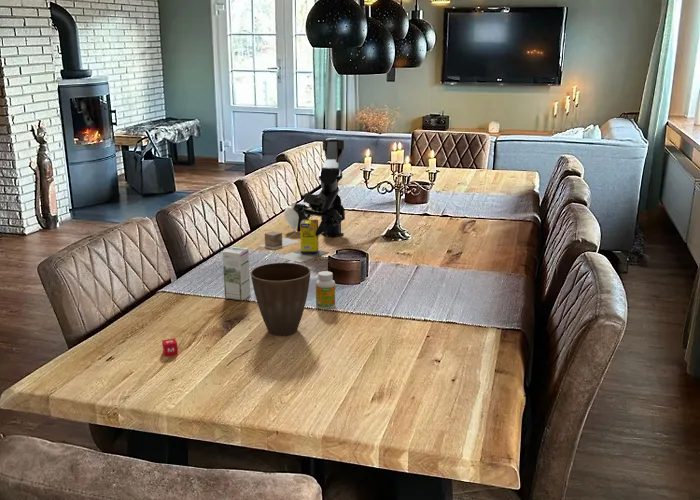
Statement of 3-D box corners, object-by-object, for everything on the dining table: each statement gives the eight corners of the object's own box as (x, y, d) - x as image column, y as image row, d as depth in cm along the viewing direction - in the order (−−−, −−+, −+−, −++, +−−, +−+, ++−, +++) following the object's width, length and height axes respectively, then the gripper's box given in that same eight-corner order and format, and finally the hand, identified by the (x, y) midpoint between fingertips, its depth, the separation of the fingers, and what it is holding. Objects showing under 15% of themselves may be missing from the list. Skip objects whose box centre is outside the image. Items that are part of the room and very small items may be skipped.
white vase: (281, 232, 275) (280, 203, 272) (289, 228, 282) (289, 199, 279) (298, 234, 272) (297, 204, 269) (306, 230, 279) (306, 201, 276)
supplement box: (317, 253, 245) (317, 223, 242) (300, 253, 245) (299, 223, 242) (318, 248, 250) (318, 219, 247) (302, 248, 251) (301, 219, 248)
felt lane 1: (284, 238, 267) (284, 237, 267) (299, 241, 262) (299, 241, 262) (258, 246, 256) (258, 245, 256) (274, 249, 252) (274, 249, 252)
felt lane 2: (307, 248, 254) (307, 247, 254) (328, 252, 248) (328, 252, 248) (278, 257, 242) (278, 257, 242) (299, 262, 236) (299, 262, 236)
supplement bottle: (321, 310, 193) (320, 277, 190) (312, 304, 197) (312, 271, 195) (338, 307, 195) (338, 274, 193) (330, 301, 200) (329, 269, 197)
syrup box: (251, 294, 205) (249, 247, 201) (241, 301, 200) (239, 252, 196) (233, 292, 207) (231, 245, 203) (224, 299, 201) (221, 250, 198)
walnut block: (273, 242, 260) (273, 231, 259) (282, 244, 257) (282, 233, 256) (265, 245, 257) (264, 233, 255) (274, 247, 254) (273, 235, 253)
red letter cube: (165, 356, 164) (164, 345, 163) (163, 351, 166) (162, 340, 165) (178, 354, 165) (177, 342, 164) (175, 349, 167) (174, 338, 167)
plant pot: (288, 346, 169) (286, 284, 165) (240, 334, 177) (238, 274, 172) (322, 327, 181) (322, 268, 177) (277, 316, 189) (275, 259, 184)
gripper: (295, 181, 249) (275, 217, 244) (337, 187, 239) (316, 225, 233) (310, 199, 258) (291, 234, 252) (350, 205, 247) (331, 242, 242)
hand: (306, 233), depth 245 cm, fingers closed on supplement box, 8 cm apart
